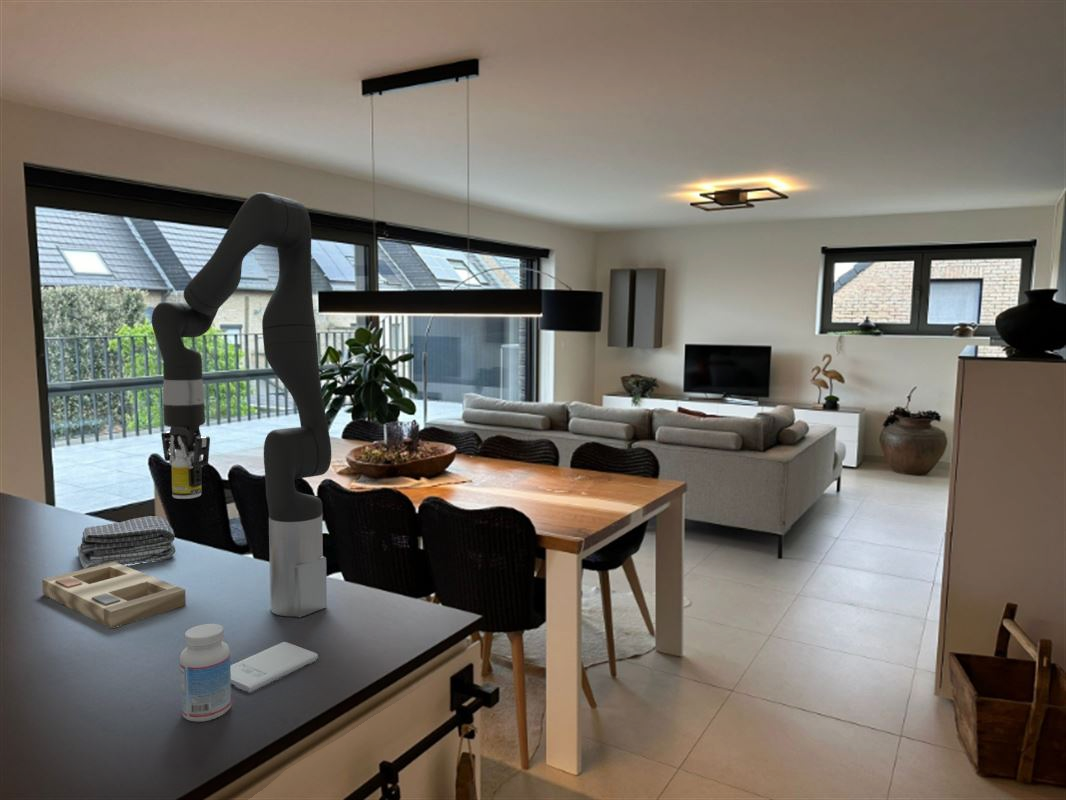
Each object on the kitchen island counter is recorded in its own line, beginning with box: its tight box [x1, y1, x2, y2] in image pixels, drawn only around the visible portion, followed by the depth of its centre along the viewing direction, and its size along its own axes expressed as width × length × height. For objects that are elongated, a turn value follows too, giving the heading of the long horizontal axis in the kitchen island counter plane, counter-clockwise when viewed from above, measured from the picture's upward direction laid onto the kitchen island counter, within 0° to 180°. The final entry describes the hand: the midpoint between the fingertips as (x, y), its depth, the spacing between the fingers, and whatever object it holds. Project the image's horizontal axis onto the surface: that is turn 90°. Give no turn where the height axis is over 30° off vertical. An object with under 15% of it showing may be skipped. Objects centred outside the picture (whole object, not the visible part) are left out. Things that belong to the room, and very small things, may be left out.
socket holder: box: [41, 562, 187, 629], centre depth 134 cm, size 26×13×3 cm, turn 56°
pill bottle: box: [179, 623, 233, 723], centre depth 96 cm, size 6×6×11 cm
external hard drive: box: [230, 641, 319, 691], centre depth 108 cm, size 2×8×12 cm
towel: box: [77, 515, 176, 570], centre depth 159 cm, size 15×18×8 cm
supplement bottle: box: [171, 449, 203, 500], centre depth 146 cm, size 5×5×10 cm
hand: (186, 484), depth 146 cm, fingers closed on supplement bottle, 5 cm apart
